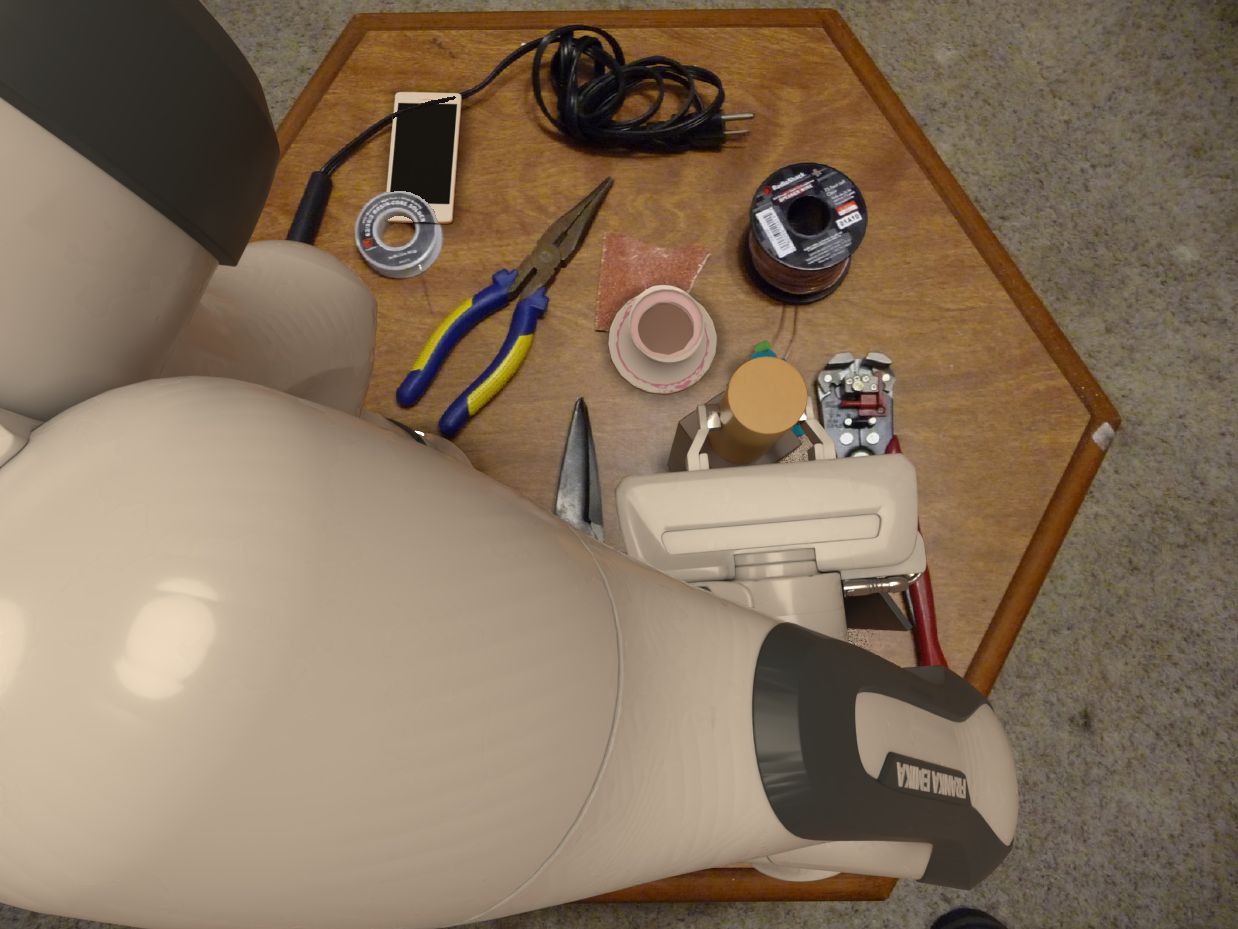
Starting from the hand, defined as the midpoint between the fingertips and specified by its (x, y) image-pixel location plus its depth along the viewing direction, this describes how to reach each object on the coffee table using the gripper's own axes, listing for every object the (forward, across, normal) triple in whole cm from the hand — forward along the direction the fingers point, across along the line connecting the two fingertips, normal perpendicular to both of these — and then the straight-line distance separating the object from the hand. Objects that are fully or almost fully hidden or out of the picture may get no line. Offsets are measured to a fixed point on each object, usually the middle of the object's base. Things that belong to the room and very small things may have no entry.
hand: (751, 401), depth 51 cm
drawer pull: (-13, -8, +15) cm, 21 cm away
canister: (-1, 0, +7) cm, 7 cm away
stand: (-1, 0, +29) cm, 29 cm away
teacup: (+14, +4, +29) cm, 32 cm away
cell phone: (+39, +30, +29) cm, 56 cm away
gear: (+7, -7, +29) cm, 30 cm away
